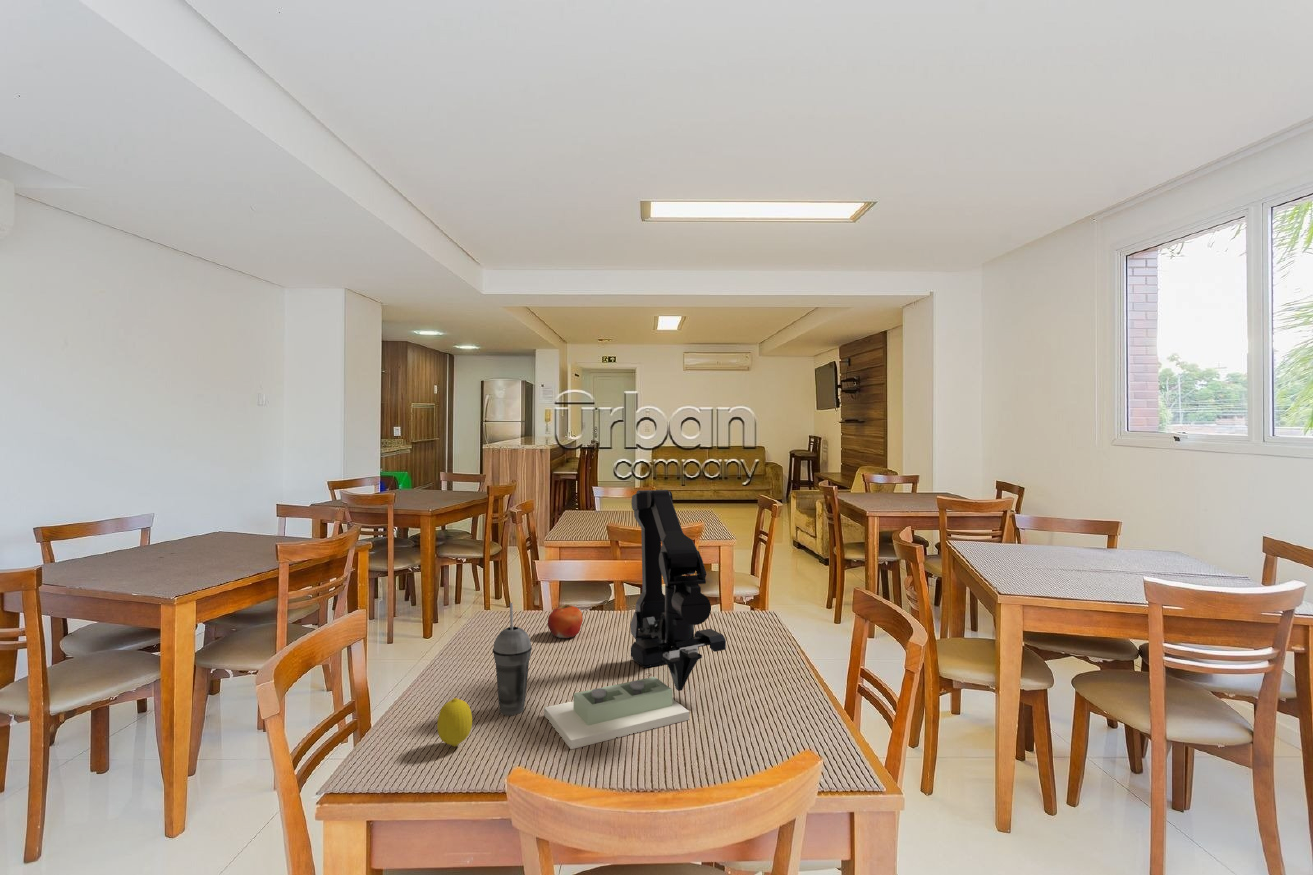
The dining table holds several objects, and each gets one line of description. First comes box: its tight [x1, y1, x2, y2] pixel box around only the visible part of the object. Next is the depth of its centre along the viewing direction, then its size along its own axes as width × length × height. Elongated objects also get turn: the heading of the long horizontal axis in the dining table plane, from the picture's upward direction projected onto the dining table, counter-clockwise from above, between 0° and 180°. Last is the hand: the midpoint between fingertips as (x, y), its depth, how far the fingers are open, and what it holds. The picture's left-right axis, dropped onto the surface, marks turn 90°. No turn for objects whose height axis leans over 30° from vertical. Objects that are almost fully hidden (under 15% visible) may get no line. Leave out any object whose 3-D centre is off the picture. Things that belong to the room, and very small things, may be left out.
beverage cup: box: [492, 602, 533, 716], centre depth 114 cm, size 7×7×20 cm
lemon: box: [436, 697, 473, 748], centre depth 100 cm, size 6×6×8 cm
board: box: [543, 680, 690, 750], centre depth 111 cm, size 23×14×6 cm, turn 119°
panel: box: [573, 676, 673, 725], centre depth 112 cm, size 17×7×3 cm, turn 119°
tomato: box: [547, 604, 584, 639], centre depth 158 cm, size 9×9×8 cm
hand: (679, 689), depth 117 cm, fingers closed
